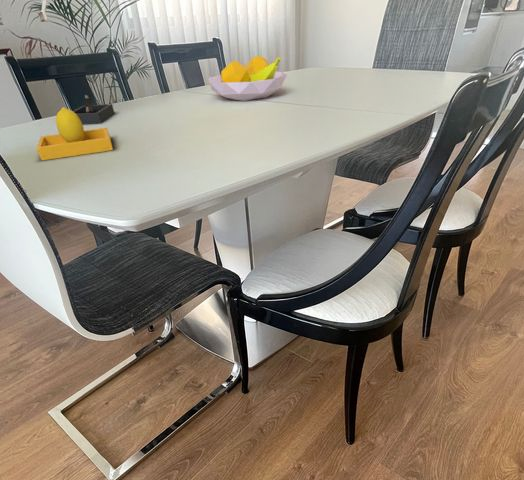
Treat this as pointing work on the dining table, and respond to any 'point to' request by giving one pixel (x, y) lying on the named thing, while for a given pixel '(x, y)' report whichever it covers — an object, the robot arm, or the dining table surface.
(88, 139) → the yellow tray
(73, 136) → the lemon
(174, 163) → the dining table surface
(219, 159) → the dining table surface
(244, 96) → the fruit bowl
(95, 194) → the dining table surface
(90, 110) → the lighter
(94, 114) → the dark tray
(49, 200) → the dining table surface
